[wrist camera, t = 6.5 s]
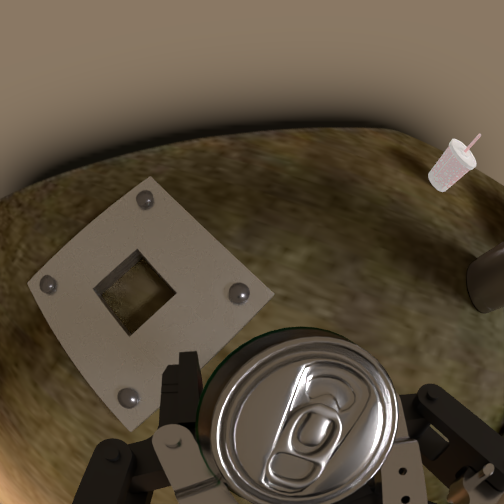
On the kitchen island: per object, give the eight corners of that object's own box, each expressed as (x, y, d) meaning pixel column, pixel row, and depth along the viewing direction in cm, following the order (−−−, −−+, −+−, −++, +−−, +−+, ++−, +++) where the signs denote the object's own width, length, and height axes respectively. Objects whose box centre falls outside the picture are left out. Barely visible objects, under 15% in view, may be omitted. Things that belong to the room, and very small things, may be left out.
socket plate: (153, 188, 34) (149, 173, 31) (270, 300, 30) (275, 292, 27) (37, 289, 26) (24, 281, 23) (137, 427, 23) (128, 433, 20)
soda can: (303, 373, 16) (435, 365, 6) (267, 441, 14) (350, 537, 3) (232, 338, 17) (264, 277, 6) (193, 406, 15) (149, 476, 4)
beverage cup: (453, 195, 42) (497, 151, 29) (434, 195, 40) (482, 146, 28) (439, 169, 44) (478, 123, 31) (419, 167, 43) (460, 116, 30)
